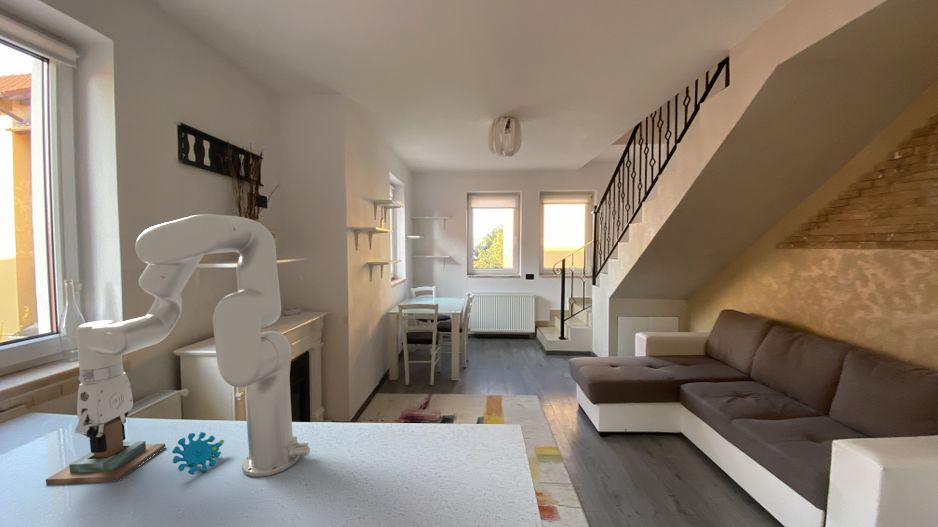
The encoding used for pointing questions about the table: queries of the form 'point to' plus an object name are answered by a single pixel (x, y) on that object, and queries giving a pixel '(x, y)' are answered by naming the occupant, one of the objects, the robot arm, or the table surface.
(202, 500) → the table surface
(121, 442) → the wooden block
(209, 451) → the gear
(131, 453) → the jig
